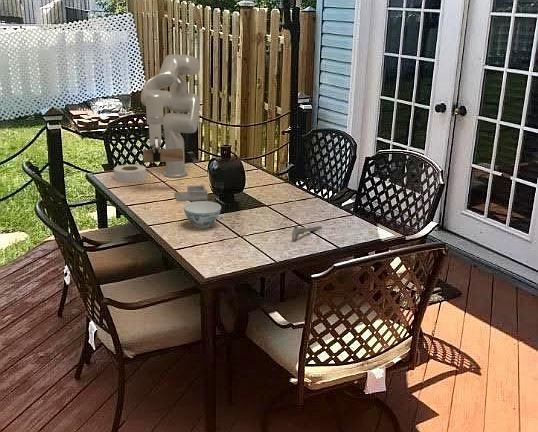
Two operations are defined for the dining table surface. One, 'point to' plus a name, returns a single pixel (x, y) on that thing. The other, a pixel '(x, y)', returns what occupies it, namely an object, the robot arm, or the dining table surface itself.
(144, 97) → the robot arm
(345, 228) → the dining table surface
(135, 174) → the roll of tape
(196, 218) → the chinaware
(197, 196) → the cup bracket
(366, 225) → the dining table surface
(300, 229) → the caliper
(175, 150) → the walnut rail
